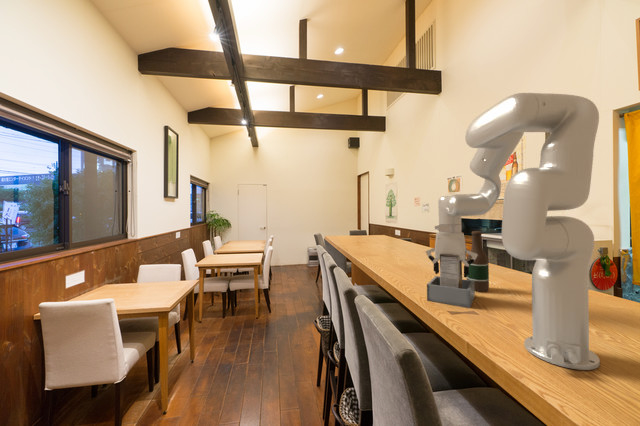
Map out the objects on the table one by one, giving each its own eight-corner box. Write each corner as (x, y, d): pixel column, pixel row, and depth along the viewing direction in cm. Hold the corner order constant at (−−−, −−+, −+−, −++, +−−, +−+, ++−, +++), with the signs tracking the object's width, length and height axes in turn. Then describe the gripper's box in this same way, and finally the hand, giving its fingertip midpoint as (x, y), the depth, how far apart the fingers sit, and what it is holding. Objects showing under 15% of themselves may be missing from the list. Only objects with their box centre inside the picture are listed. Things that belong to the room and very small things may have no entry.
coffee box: (444, 291, 103) (443, 250, 103) (463, 294, 99) (462, 251, 99) (439, 298, 96) (438, 254, 95) (459, 301, 92) (458, 255, 92)
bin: (470, 308, 88) (469, 290, 88) (427, 300, 96) (426, 284, 96) (474, 296, 99) (474, 280, 99) (435, 290, 107) (435, 276, 107)
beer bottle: (462, 288, 110) (461, 231, 109) (476, 285, 112) (475, 230, 112) (478, 293, 102) (477, 232, 102) (493, 291, 105) (492, 231, 104)
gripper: (423, 229, 99) (424, 274, 99) (475, 230, 89) (476, 280, 89) (428, 228, 105) (429, 270, 106) (478, 228, 95) (479, 275, 95)
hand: (450, 274), depth 97 cm, fingers open, 9 cm apart
